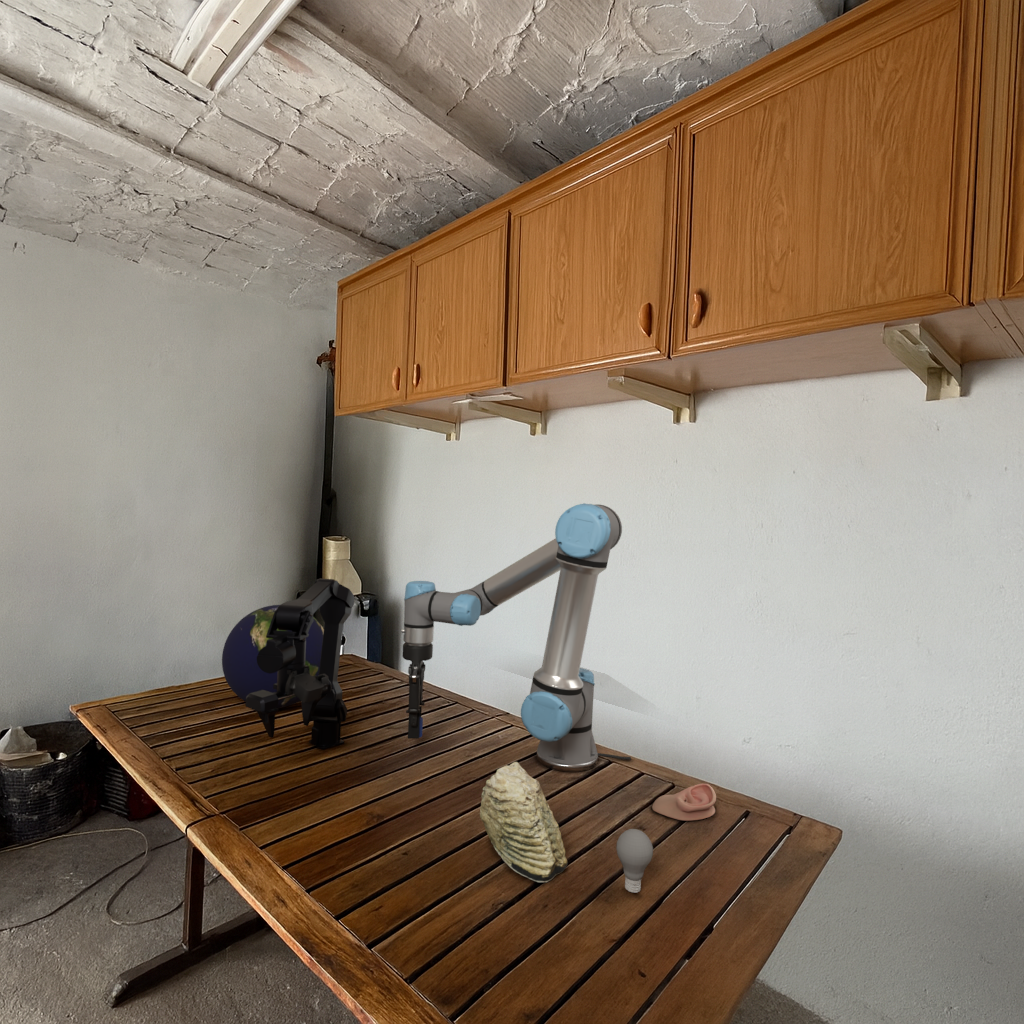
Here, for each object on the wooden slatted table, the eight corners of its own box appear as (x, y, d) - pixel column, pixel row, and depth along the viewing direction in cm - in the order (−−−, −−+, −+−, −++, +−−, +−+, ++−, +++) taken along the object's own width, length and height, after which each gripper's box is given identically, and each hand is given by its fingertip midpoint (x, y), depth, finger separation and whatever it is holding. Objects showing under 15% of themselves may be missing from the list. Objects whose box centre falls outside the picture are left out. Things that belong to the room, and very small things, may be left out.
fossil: (501, 827, 124) (504, 751, 124) (575, 868, 111) (578, 784, 111) (467, 843, 118) (470, 763, 118) (541, 889, 105) (545, 799, 105)
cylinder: (419, 738, 158) (420, 721, 158) (406, 737, 159) (406, 720, 159) (424, 733, 162) (424, 716, 162) (411, 732, 162) (411, 715, 162)
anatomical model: (653, 797, 131) (652, 774, 142) (652, 816, 131) (651, 792, 142) (720, 806, 128) (714, 782, 140) (719, 826, 128) (713, 800, 140)
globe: (289, 685, 209) (292, 594, 208) (348, 705, 191) (352, 606, 191) (199, 706, 185) (203, 604, 184) (258, 732, 167) (262, 619, 167)
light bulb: (610, 879, 108) (613, 822, 108) (644, 879, 109) (647, 822, 109) (619, 902, 102) (622, 840, 102) (655, 901, 103) (658, 840, 103)
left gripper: (279, 677, 128) (276, 753, 128) (349, 659, 143) (346, 727, 144) (245, 667, 134) (242, 740, 134) (316, 651, 149) (313, 717, 150)
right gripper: (407, 635, 168) (403, 722, 168) (398, 650, 151) (394, 747, 152) (435, 636, 168) (431, 723, 169) (430, 651, 152) (426, 748, 152)
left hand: (289, 731), depth 140 cm, fingers open, 9 cm apart
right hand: (414, 734), depth 160 cm, fingers closed on cylinder, 3 cm apart
